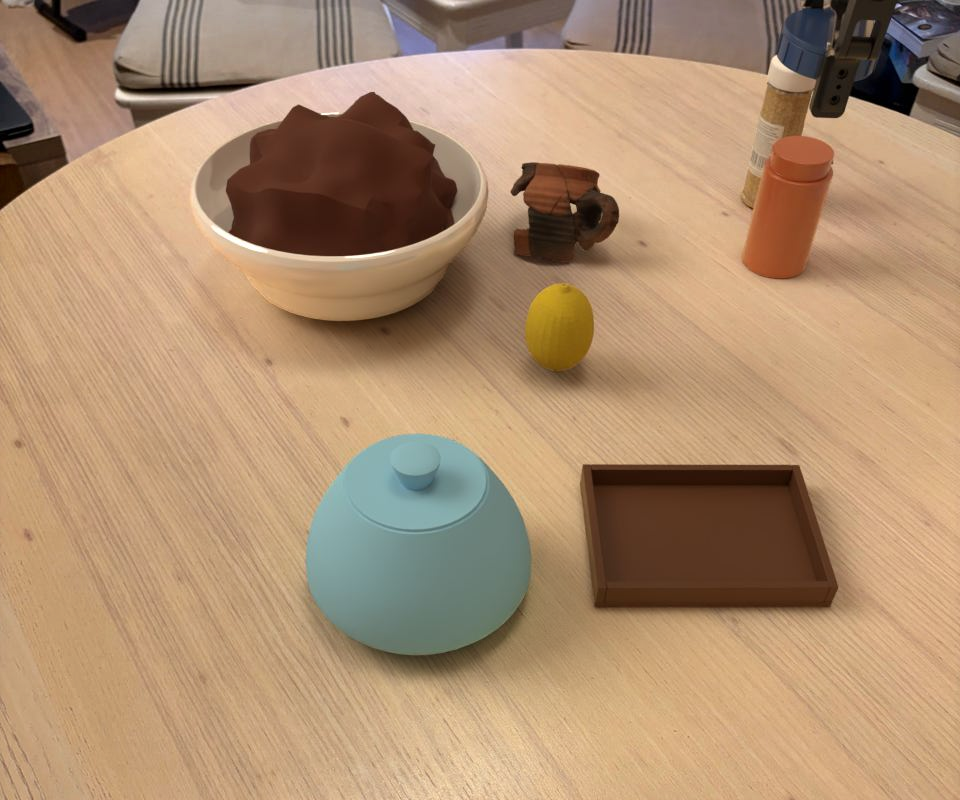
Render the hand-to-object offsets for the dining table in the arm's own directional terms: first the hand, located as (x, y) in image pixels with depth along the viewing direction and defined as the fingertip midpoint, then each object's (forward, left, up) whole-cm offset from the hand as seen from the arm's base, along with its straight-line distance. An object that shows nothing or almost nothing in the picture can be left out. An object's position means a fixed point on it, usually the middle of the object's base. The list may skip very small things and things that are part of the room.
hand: (814, 90), depth 70 cm
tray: (+7, +22, -22) cm, 32 cm away
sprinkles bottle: (-7, -26, -22) cm, 35 cm away
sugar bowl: (+27, +26, -22) cm, 43 cm away
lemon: (+16, +2, -22) cm, 27 cm away
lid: (0, 0, +3) cm, 3 cm away
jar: (-6, -15, -22) cm, 27 cm away
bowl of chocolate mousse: (+34, -11, -22) cm, 42 cm away
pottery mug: (+14, -18, -22) cm, 32 cm away
